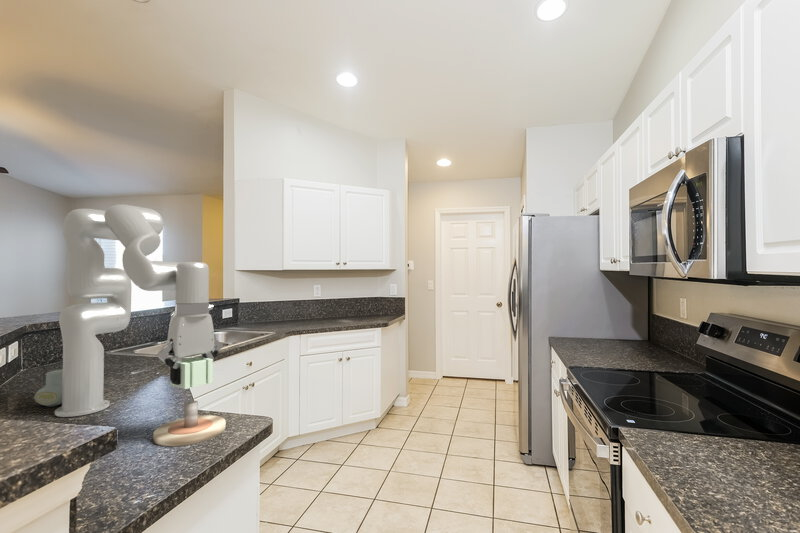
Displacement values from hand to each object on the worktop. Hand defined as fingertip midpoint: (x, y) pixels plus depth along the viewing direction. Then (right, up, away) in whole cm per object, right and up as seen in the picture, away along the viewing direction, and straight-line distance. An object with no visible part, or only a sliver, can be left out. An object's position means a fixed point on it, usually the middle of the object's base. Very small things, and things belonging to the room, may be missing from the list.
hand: (191, 379), depth 98 cm
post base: (0, -13, 0) cm, 13 cm away
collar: (0, -1, 0) cm, 1 cm away
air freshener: (-54, -14, +23) cm, 61 cm away
